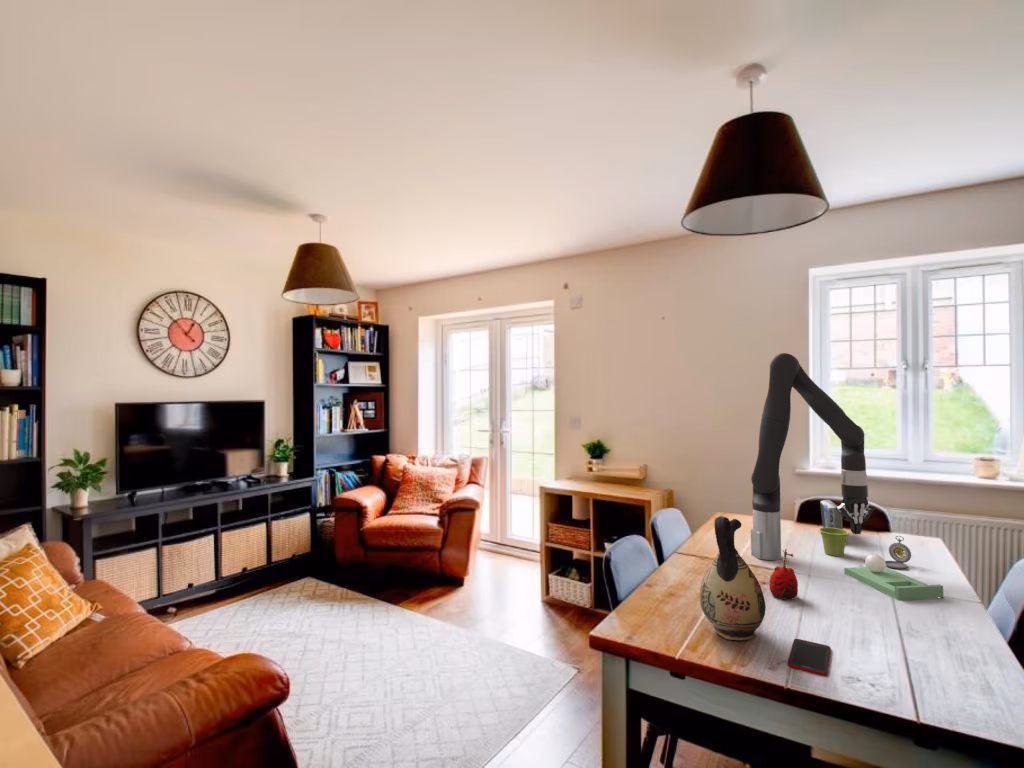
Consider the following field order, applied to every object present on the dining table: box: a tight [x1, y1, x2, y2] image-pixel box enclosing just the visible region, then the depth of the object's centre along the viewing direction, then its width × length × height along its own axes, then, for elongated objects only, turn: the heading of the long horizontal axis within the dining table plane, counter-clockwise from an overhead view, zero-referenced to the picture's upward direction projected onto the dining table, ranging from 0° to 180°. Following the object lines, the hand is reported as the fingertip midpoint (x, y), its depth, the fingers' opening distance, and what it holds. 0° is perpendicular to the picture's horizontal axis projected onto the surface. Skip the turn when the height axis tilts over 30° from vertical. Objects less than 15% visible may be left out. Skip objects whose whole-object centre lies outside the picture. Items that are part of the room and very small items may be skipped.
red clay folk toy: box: [768, 548, 799, 601], centre depth 155 cm, size 8×7×15 cm
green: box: [843, 566, 944, 601], centre depth 162 cm, size 14×22×4 cm, turn 4°
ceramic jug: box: [699, 515, 767, 649], centre depth 132 cm, size 17×15×30 cm
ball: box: [864, 553, 887, 573], centre depth 168 cm, size 6×6×6 cm
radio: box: [820, 499, 848, 544], centre depth 216 cm, size 23×9×15 cm, turn 150°
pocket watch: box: [885, 535, 912, 570], centre depth 179 cm, size 8×8×10 cm
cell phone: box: [787, 638, 832, 677], centre depth 119 cm, size 8×15×1 cm, turn 146°
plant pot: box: [818, 527, 849, 557], centre depth 193 cm, size 9×9×9 cm
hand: (856, 533), depth 177 cm, fingers closed
